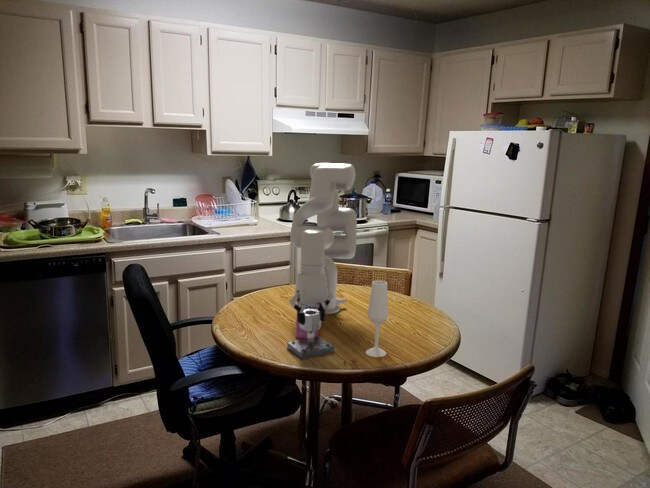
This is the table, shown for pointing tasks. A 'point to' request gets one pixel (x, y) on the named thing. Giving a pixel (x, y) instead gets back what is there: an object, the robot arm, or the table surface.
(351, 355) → the table surface
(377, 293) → the champagne flute
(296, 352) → the shaft block
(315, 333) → the gum box
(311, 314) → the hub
